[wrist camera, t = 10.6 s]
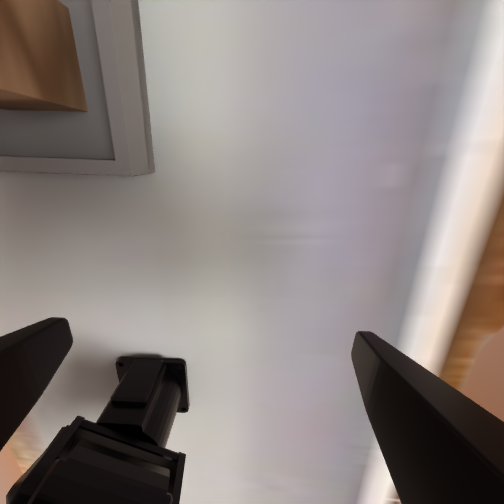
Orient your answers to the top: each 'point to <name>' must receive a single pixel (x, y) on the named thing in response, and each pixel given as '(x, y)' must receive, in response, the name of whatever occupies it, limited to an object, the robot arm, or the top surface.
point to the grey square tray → (91, 103)
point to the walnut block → (39, 58)
